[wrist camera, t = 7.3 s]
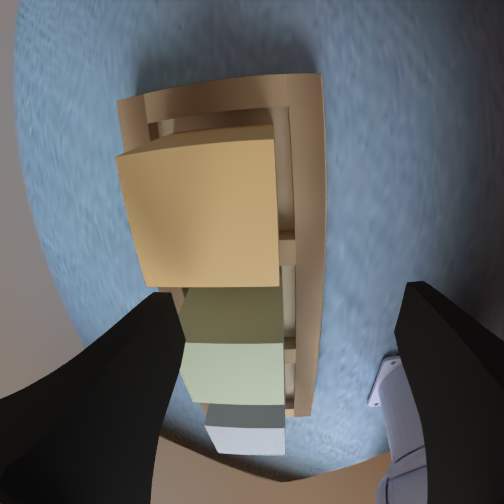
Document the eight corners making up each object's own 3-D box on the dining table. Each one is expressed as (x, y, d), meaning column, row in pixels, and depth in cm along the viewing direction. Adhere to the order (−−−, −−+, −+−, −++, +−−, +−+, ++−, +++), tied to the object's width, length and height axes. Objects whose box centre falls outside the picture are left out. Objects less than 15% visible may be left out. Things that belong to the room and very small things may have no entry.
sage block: (281, 266, 17) (283, 343, 12) (284, 329, 19) (284, 404, 14) (196, 269, 17) (167, 341, 12) (210, 330, 20) (193, 401, 15)
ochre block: (278, 219, 16) (279, 286, 10) (186, 222, 16) (146, 286, 11) (273, 123, 13) (273, 139, 8) (173, 132, 14) (115, 157, 8)
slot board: (317, 77, 13) (326, 73, 11) (311, 392, 25) (313, 415, 23) (135, 100, 14) (112, 102, 12) (207, 392, 26) (203, 414, 24)
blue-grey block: (284, 357, 21) (284, 428, 16) (285, 393, 23) (284, 455, 18) (218, 357, 21) (204, 425, 16) (227, 393, 24) (218, 452, 18)
